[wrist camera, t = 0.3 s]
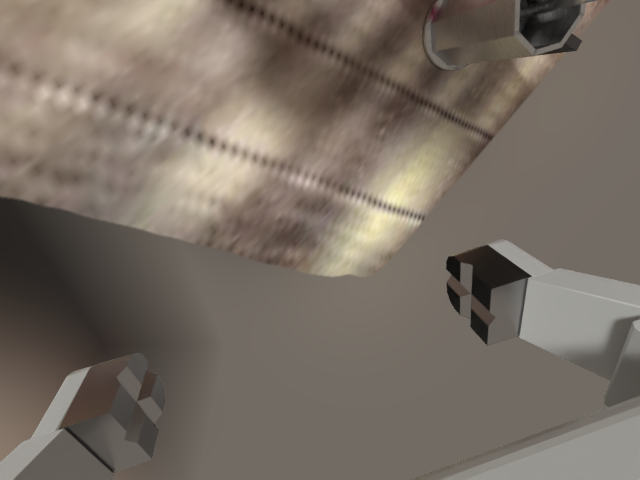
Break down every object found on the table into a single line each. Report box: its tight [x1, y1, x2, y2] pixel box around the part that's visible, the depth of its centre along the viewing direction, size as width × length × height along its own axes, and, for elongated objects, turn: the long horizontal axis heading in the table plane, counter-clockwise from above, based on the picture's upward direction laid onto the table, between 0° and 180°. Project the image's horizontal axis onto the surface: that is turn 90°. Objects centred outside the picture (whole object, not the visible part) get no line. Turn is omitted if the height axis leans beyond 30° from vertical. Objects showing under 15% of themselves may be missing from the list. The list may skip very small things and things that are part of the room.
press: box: [422, 0, 586, 70], centre depth 44 cm, size 11×14×18 cm
